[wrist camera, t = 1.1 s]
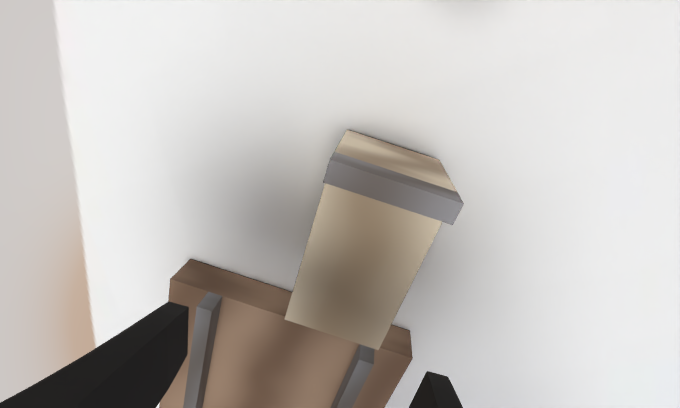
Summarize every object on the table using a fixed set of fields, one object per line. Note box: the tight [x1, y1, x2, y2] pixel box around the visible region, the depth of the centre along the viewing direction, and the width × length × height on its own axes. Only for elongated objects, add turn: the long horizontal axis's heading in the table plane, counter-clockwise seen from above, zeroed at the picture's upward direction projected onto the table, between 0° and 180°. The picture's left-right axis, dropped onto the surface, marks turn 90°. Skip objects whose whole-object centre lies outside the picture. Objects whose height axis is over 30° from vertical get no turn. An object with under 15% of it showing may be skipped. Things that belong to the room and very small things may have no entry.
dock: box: [159, 259, 412, 408], centre depth 21 cm, size 14×15×3 cm
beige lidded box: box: [285, 130, 464, 350], centre depth 14 cm, size 4×8×6 cm, turn 163°
